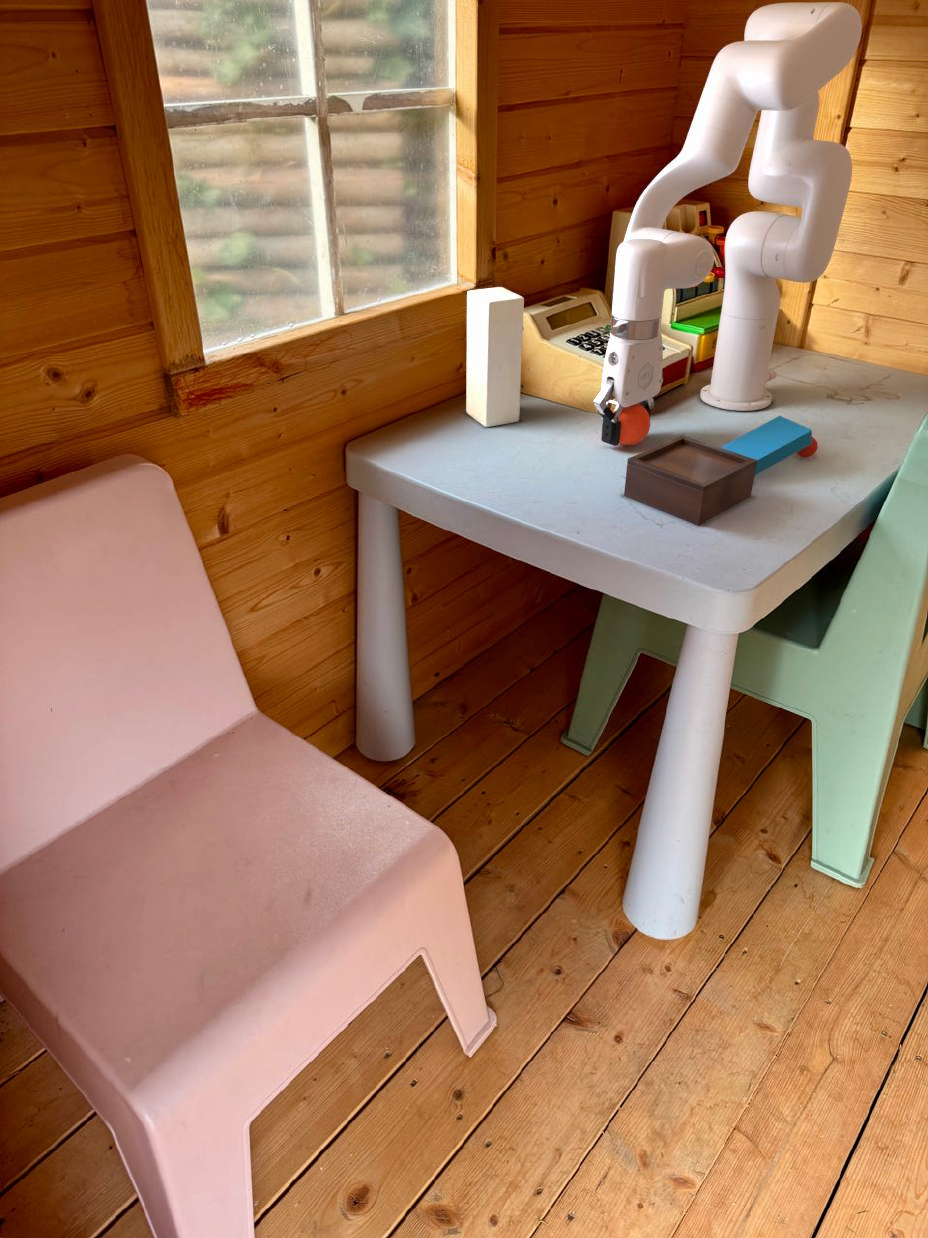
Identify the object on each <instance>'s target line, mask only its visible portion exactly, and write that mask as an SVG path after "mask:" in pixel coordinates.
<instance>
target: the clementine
mask: <svg viewBox="0 0 928 1238" xmlns="http://www.w3.org/2000/svg"><path fill="white" fill-rule="evenodd" d="M613 406H615V405H612V406H611V407H613ZM615 408H616V406H615V407H614V408H613V409H611V410H612V412H613V413H614V411H615ZM618 421H619V422H621V428H620V439H619V445H622V446H634V445H637V444H638V443H641V442H642V441H643V440H645V438H646V437H647V435H648V433H649V432H650V429H651V416H650V417H649V413H648V412H647V410H646V409H645V408H644V407H643V406H642V405H640V404H639V403H637V404H634V405H632V406H629V407H623V409H622V412H621V415H620V417H619V420H618Z"/></svg>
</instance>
